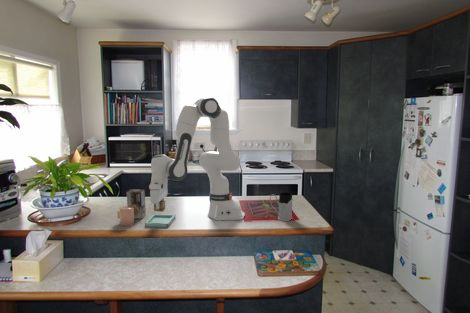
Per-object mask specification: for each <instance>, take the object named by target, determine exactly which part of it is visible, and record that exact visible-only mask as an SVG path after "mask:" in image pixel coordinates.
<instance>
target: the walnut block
mask: <svg viewBox="0 0 470 313" xmlns="http://www.w3.org/2000/svg"><path fill="white" fill-rule="evenodd" d="M159 205H160V208H159V209H156V204H155V203H153V211H154V212H164V211H165V209H166V200H164V201H160V203H159Z"/></svg>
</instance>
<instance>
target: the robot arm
mask: <svg viewBox="0 0 470 313" xmlns="http://www.w3.org/2000/svg"><path fill="white" fill-rule="evenodd" d="M203 117H204V118H208V119H209V122H210V126H209V127H210V134H209V135H210V142H211V144H212V145H214V146H215V147H216V149H217V151H206V152H205V151H204V152H202V153H201V154H200V156H199V159H198V161H199V166H200V167H201V168H202V169H203V170H204V171H205V173H207V176H208V178H209V179H208V180H209V187H210V188H209V189H210V192H209V209H208V213H207V217H208V218H211V219H214V220H215V221H232V220H233V221H237V220H238V221H239V220H243V219H245V217H244V216H245V215H246V214H245V212H244V211H242V208H241V205H240V204H239V203H238V201H235V200H234V199H233V193H232V192H230V190H229V184H230V183H229V180H228V178H227V177H226V176H224V175H223V174H222V172H223V171H224V172H234V171H237V170H238V169H239V168H240V166H241V158H240V156H239V155H238V154H237V153H236V152H235V151H234V149H233V148H232V145H231V143H230V142H231V141H230V121H229V120H230V119H229V114H228V112H227V111H226V110H224V109H222V108H221V106H220V104H219V102H218V101H217V99H216V98H214V97H211V96H205V97H202V98H200V99H197V100H196V101H195V103H194V104H186V105H184V106H183V107H182V109H181V111H180V113H179V115H178V119H177V122H176V125H175V126H176V127H175V135H176V137H177V142H178V146H177V151H176V155H175V157H174V158H172V157H170V156H167V155H166V154H163V153H161V154H157V155H154V156H153V157H152V158H151V162H150V163H151V164H150V171H151V178H150V179H151V180H150V184H149V185H148V188H149V190H150V191H149V198H150V203H151V204H154V203H155V204H156V209H159V208H160V205H159V203H160V201H165V197H167V196H168V194H169V193H168V177H169V178H170V179H172V181H178V182H180V181H183V180H184V179H185V178H186V177H187V175H188V157H189V153H190V149H191V145H192V144H191V143H192V142H193V138H194V136H195V133H196V129H197V126H198V122H199V119H201V118H203Z"/></svg>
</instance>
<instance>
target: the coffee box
mask: <svg viewBox="0 0 470 313" xmlns="http://www.w3.org/2000/svg"><path fill="white" fill-rule="evenodd" d="M126 206H132V207H134V219H144V218H145V217H146V215H147V213H146V210H147V208H146V190H145V189H135V188H134V189H133V188H132V189H129V190H128V191H126Z"/></svg>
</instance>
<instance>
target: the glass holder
mask: <svg viewBox="0 0 470 313" xmlns="http://www.w3.org/2000/svg"><path fill="white" fill-rule="evenodd" d="M278 195H279V196H278V198H277V195H276V194H270V196H269V203H270V206H271V207H272V208H273V210H275V212H276V213H277V214H278V216H277V219H278V220H279V221H282V222H290V221H289V220H291V219H292V220H293V193H291V192H280V193H279V194H278ZM272 196H274V197H275V200H276V203H278V210H277V209H276V208H275V207H274V206H273V203H272V201H271V200H272V199H271V197H272ZM292 220H291V221H292Z"/></svg>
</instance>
